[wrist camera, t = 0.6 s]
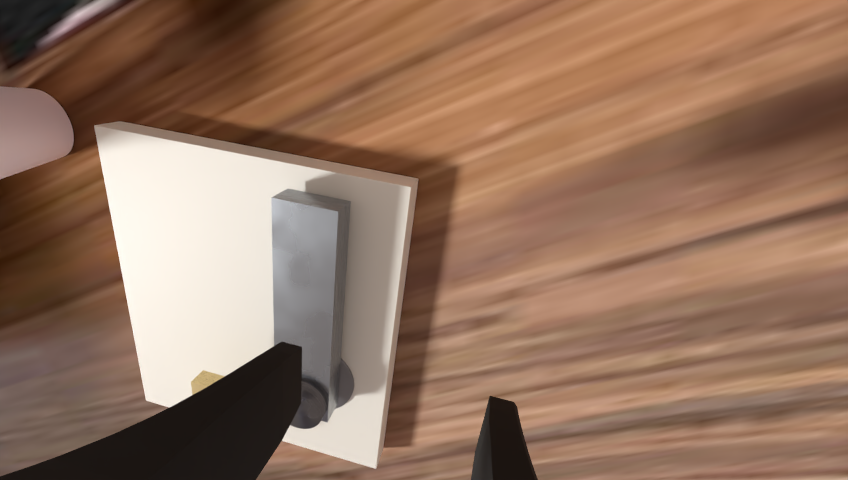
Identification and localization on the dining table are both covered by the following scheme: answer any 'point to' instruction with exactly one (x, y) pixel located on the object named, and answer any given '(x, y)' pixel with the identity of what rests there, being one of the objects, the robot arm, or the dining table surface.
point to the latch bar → (311, 292)
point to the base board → (250, 267)
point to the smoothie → (31, 130)
